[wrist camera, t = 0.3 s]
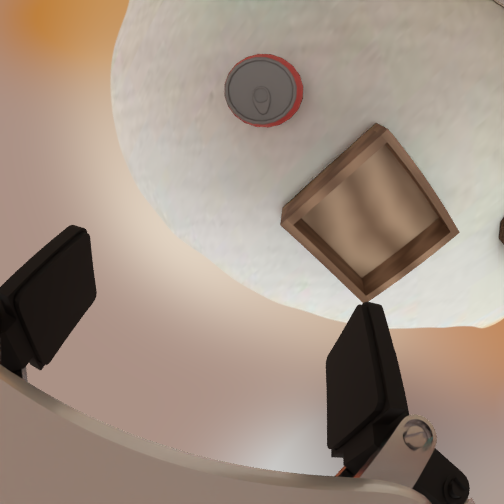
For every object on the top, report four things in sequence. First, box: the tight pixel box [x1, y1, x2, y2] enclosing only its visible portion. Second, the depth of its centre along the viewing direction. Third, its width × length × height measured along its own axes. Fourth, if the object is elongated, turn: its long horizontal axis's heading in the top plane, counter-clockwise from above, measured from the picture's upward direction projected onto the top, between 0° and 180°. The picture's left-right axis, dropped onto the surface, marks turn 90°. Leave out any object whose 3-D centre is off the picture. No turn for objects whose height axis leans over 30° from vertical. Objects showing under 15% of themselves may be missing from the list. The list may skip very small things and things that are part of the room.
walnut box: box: [280, 123, 459, 303], centre depth 34 cm, size 16×16×5 cm
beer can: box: [225, 54, 303, 127], centre depth 25 cm, size 7×7×12 cm
